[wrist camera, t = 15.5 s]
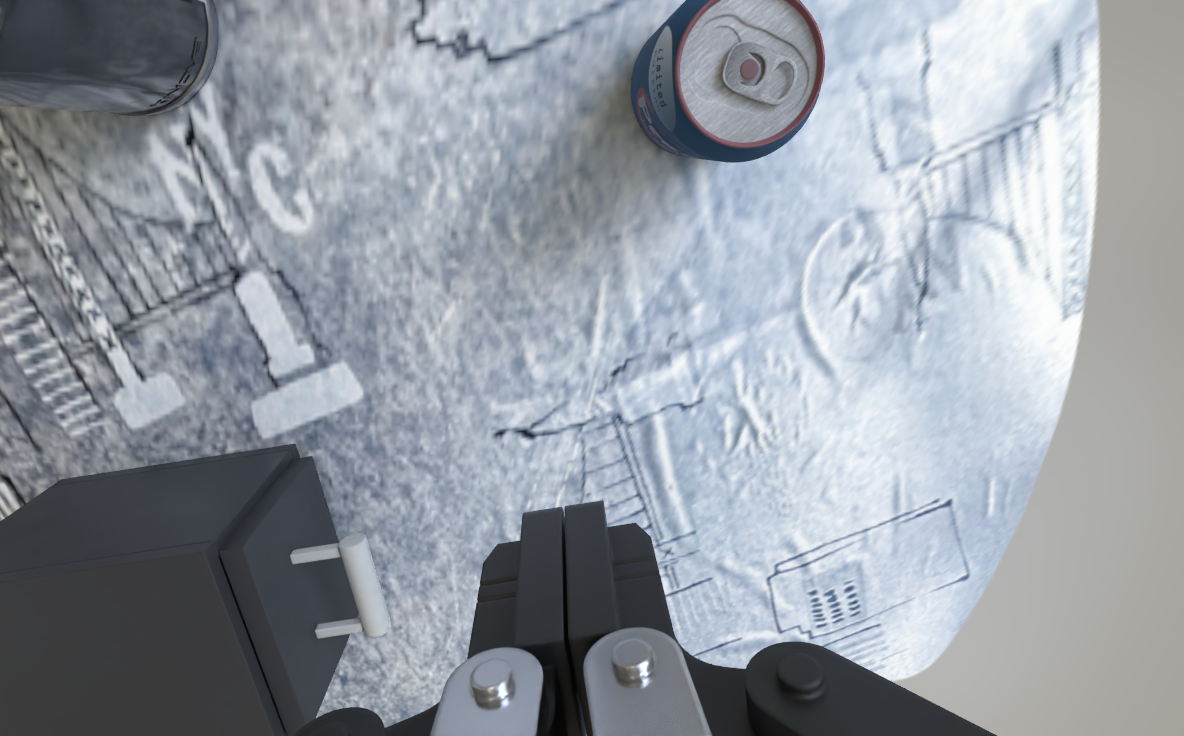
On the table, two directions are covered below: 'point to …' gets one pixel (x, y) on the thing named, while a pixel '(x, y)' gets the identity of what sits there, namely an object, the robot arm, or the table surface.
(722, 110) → the soda can
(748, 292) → the table surface
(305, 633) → the dark grey drawer
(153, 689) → the grey drawer cabinet
